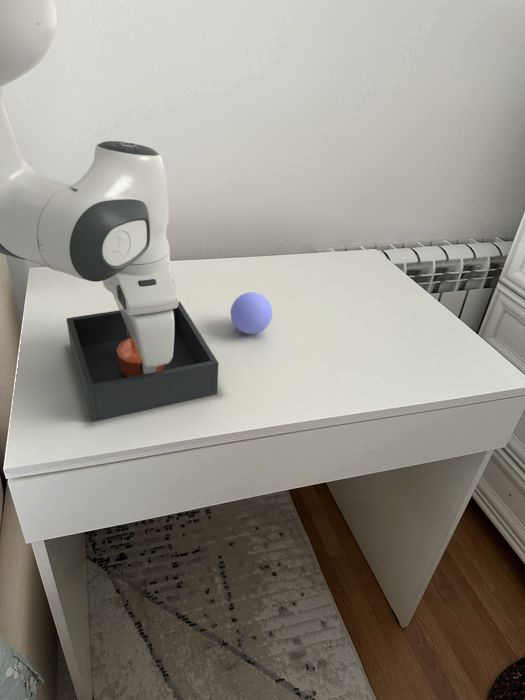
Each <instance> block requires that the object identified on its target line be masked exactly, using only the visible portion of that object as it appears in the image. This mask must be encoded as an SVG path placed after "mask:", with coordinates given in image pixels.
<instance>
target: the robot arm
mask: <svg viewBox="0 0 525 700" xmlns="http://www.w3.org/2000/svg"><path fill="white" fill-rule="evenodd" d="M57 26H58V12H57V3H56V0H0V254H1V255H4V256H7V257H11V258H16V259H20V260H24V261H28V262H31V263H35V264H37V265H39V266H42V267H45V268H48V269H50V270H54V271H56V272H61V273H63V274H66V275H69V276H72V277H75V278H77V279H80V280H85V281H87V282H88V281H90V282H92V283H93V282H95V283H98V282H102V285H103V287H104V288H105V289H106V290H107V291H108V292H110V293H111V294H112V296H113V299H114V301H115V304H116V306H117V309H118V310H120V313H121V315H122V317H123V320H124V322H125V324H126V327H127V335H128V338H132V340H133V342H134V344H135V347H136V349H137V351H138V353H139V356H140V358H141V368H142V370H143V373H144V374H148V373H153V372H155V371H156V366H161V365H165V364H168V363H170V361H171V360H172V357H173V349H174V313H173V309H175V308H177V307H178V302H179V294H178V292H177V289H176V286H175V282H174V279H173V278H172V276H173V275H172V265H171V247H170V243H169V240H168V236H167V229H168V224H169V222H170V202H169V187H168V179H167V178H168V177H167V172H166V168H165V164H164V160H163V158H162V156H161V154H160V153H159V152H157V151H156V150H155V149H153V148H151V147H148V146H146V145H142V144H137V143H133V142H124V141H119V140H118V141H117V140H107V141H102V142H99V143H97V144H96V145H95V148H94V155H93V161H92V163H91V165H90V167H89V168H88V170H87V171H86V172H85V174H84V175H83V176H81V178H79V180H77V181H76V182H75V183H73V184H68V183H66V182H63V181H59V180H55V179H52V178H49V177H48V176H45V175H43V174H42V173H40V172H38V171H37V170H35V169H34V168H33V167H32V166H30V165H29V164H28V163H27V162H26V160H25V159H24V158H23V155H22V153H21V151H20V147H19V144H18V141H17V138H16V135H15V132H14V130H13V128H12V124H11V121H10V118H9V116H8V113H7V110H6V107H5V104H4V101H3V100H4V99H3V95H2V94H3V93H2V91H3V90H2V88H3V87H4V86H6V85H8V84H10V83H13V82H14V81H16V80H18V79H19V78H21V77H23V76H24V75H26V74H27V73H29V72H30V71H31V70H33V69H35V67H36V66H37V65H38V64H40V62H41V61H42V60H43V59H44V58H45V56H46V54H47V53H48V51H49V50H50V48H51V46H52V43H53V41H54V37H55V35H56V31H57Z"/></svg>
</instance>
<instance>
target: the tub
mask: <svg viewBox="0 0 525 700" xmlns="http://www.w3.org/2000/svg"><path fill="white" fill-rule="evenodd" d="M173 313H174V349H173V357H172V360H171V361H170V363H168V364H165V368H164V370H163V371H158V372H153V373H148V374H143V375H138V376H133V377H126V376H124V375H123V374H122V373H121V372H120V371H119V368H118V359H117V353H116V349H117V348H118V346H119V344H120V343H121V342H123V341H125V340H126V339H128V335H127V327H126V324H125V322H124V320H123V317H122V315H121V313H120V310H119V309H118V310H113V311H106V312H105V311H104V312H99V313H92V314H85V315H78V316H72V317H67V318H66V325H67V331H68V332H67V333H68V338H69V344H70V350H71V354H72V357H73V360H74V361H73V362H74V364H75V368H76V371H77V375H78V378H79V382H80V385H81V389H82V392H83V395H84V399H85V403H86V406H87V409H88V413H89V416H90V420H91V422H92V423H93V422H98V421H103V420H107V419H111V418H115V417H120V416H125V415H129V414H134V413H138V412H143V411H146V410H147V411H148V410H151V409H152V410H153V409H156V408H161V407H165V406H169V405H173V404H179V403H182V402H187V401H191V400H196V399H199V398H200V399H202V398H204V397H209V396H215V395H217V394H218V383H219V361H218V360H217V358H216V357H215V354H214V353H213V352H212V350H211V348H210V347H209V345H208V344H207V342H206V340H205V339H204V338H203V336H202V334H201V332H200V331H199V329H198V327H197V326H196V325H195V323H194V322H193V320H192V319H191V317H190V315H189V314H188V312H187V310H186V309H185V307H184V305H183V304H182V303H181V301H179V300H178V307H177V308H175V309H173Z"/></svg>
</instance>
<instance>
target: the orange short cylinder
mask: <svg viewBox="0 0 525 700" xmlns="http://www.w3.org/2000/svg"><path fill="white" fill-rule="evenodd" d="M116 353H117V359H118V368H119V371H120V372H121V373H122V374H123V375H124V376H126V377H133V376H138V375H143V374H144V373H143V370H142V368H141V358H140V356H139V353H138V351H137V349H136V347H135V344H134V342H133V340H132V338H128V339H126V340H125V341H123V342H121V343H120V344H119V346H118V348H117V349H116ZM164 368H165V365H161V366H156V371H155V372H158V371H163V370H164Z"/></svg>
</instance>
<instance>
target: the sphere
mask: <svg viewBox="0 0 525 700" xmlns="http://www.w3.org/2000/svg"><path fill="white" fill-rule="evenodd" d="M230 318H231V322H232V325H234V327H235V328H236V329H237V330H238V331H240V332H241V333H243V334H246V335H256V334H259V333H262V332H264V331H265V330H266V329H267V328H268V327H269V326H270V323H271V321H272V319H273V309H272V305H271V303H270V301H269V300H268V299H267V298H266V297H265V296H263V294H260V293H258V292H251V291H249V292H245V293H243V294H240V295H239V296H238V297H236V299H235V300H234V301H233V303H232V306H231V307H230Z"/></svg>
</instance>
